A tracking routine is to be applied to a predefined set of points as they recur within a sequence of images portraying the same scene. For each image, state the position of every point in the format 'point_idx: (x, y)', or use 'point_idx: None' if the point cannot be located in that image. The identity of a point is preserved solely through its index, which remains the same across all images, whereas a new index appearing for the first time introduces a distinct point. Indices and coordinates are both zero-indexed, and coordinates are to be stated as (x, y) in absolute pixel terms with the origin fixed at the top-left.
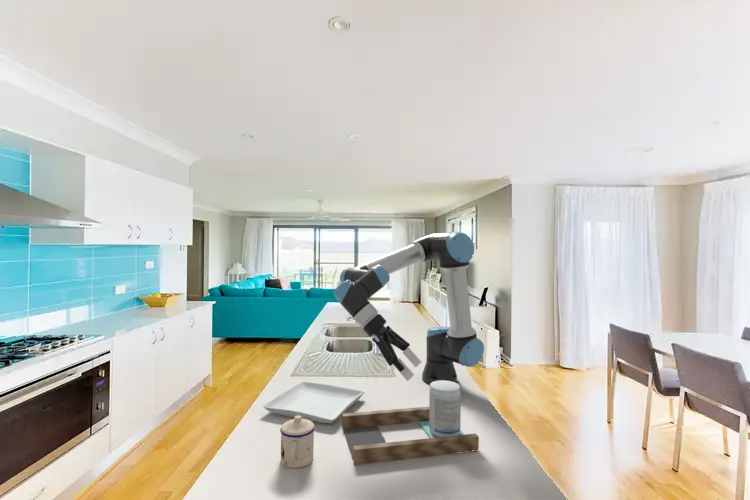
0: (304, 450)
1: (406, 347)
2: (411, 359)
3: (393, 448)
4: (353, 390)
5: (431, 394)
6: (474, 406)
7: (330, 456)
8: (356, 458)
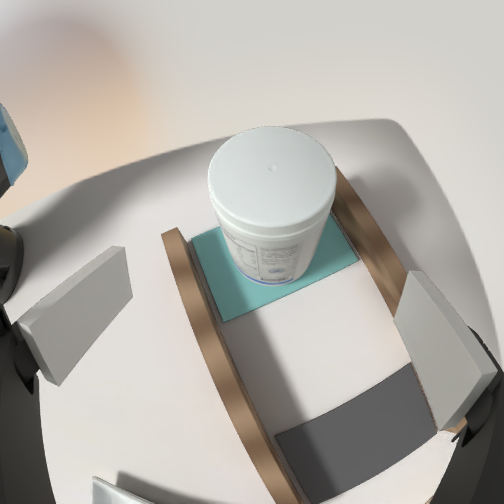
0: None
1: (18, 342)
2: (100, 314)
3: None
4: (94, 501)
5: (309, 233)
6: (116, 189)
7: (428, 474)
8: None
